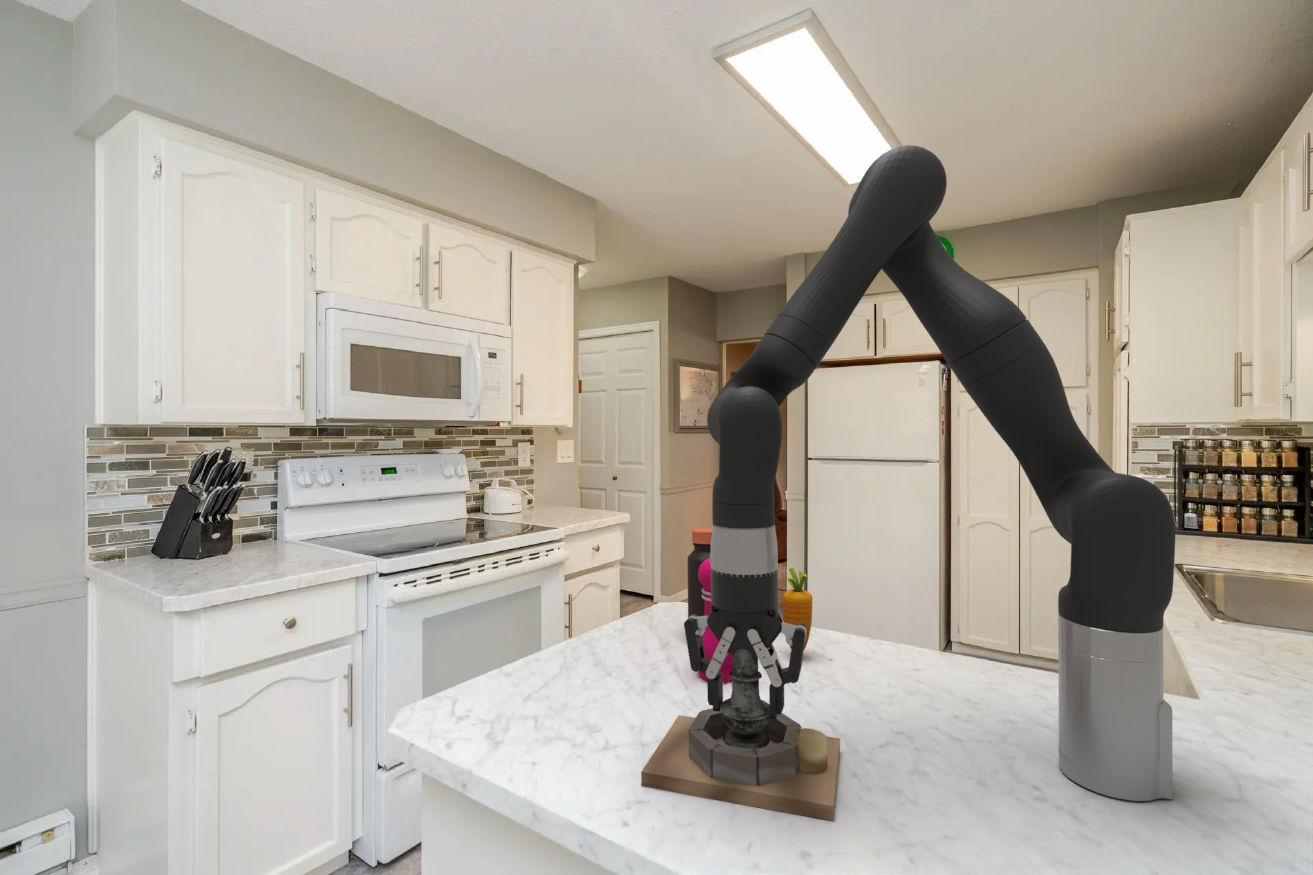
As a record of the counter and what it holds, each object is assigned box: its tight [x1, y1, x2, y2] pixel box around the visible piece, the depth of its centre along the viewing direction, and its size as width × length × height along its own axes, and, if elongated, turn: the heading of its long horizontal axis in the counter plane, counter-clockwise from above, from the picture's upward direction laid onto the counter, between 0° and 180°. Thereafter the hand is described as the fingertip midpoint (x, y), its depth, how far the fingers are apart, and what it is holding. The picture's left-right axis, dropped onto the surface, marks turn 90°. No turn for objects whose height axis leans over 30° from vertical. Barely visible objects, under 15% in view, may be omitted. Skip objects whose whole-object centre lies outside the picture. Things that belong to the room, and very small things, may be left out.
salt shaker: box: [720, 649, 770, 750], centre depth 71 cm, size 6×6×12 cm
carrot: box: [782, 567, 813, 651], centre depth 104 cm, size 5×5×15 cm
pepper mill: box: [698, 558, 733, 684], centre depth 97 cm, size 7×7×20 cm
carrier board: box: [640, 707, 841, 822], centre depth 70 cm, size 20×14×4 cm
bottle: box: [687, 527, 712, 619], centre depth 114 cm, size 7×7×20 cm
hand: (745, 711), depth 71 cm, fingers closed on salt shaker, 6 cm apart
